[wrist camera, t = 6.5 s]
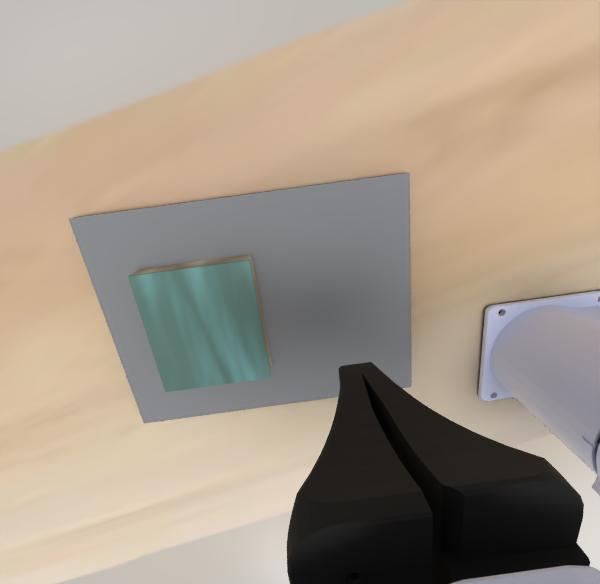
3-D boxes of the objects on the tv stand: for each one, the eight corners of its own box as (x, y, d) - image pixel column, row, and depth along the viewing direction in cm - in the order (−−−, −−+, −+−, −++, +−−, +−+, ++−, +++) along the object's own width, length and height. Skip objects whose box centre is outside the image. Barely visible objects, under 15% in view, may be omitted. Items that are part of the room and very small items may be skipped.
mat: (405, 172, 19) (409, 172, 18) (408, 381, 24) (411, 386, 23) (75, 217, 19) (68, 218, 18) (147, 417, 24) (144, 423, 23)
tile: (249, 259, 18) (127, 276, 18) (271, 377, 21) (165, 392, 21) (252, 253, 20) (139, 269, 20) (272, 364, 22) (173, 377, 22)
